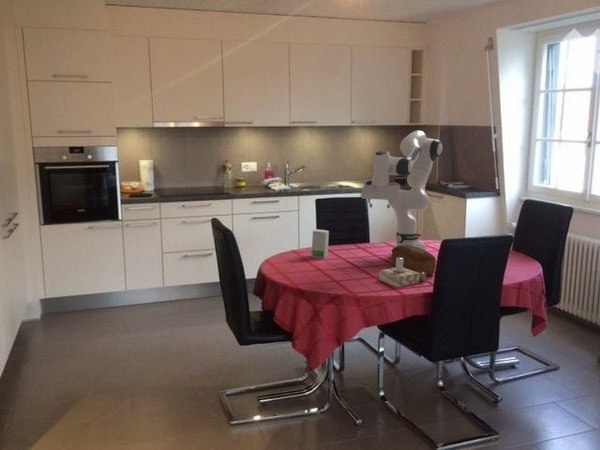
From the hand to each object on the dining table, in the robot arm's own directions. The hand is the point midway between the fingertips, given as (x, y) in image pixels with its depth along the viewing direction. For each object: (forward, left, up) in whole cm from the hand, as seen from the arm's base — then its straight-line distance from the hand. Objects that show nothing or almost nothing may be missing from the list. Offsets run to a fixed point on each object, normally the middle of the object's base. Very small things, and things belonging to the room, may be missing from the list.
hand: (379, 207), depth 309 cm
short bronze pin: (-2, +32, -33) cm, 46 cm away
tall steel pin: (+8, +26, -33) cm, 43 cm away
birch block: (+8, +26, -33) cm, 43 cm away
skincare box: (+13, -36, -33) cm, 51 cm away
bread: (-13, +13, -34) cm, 38 cm away
